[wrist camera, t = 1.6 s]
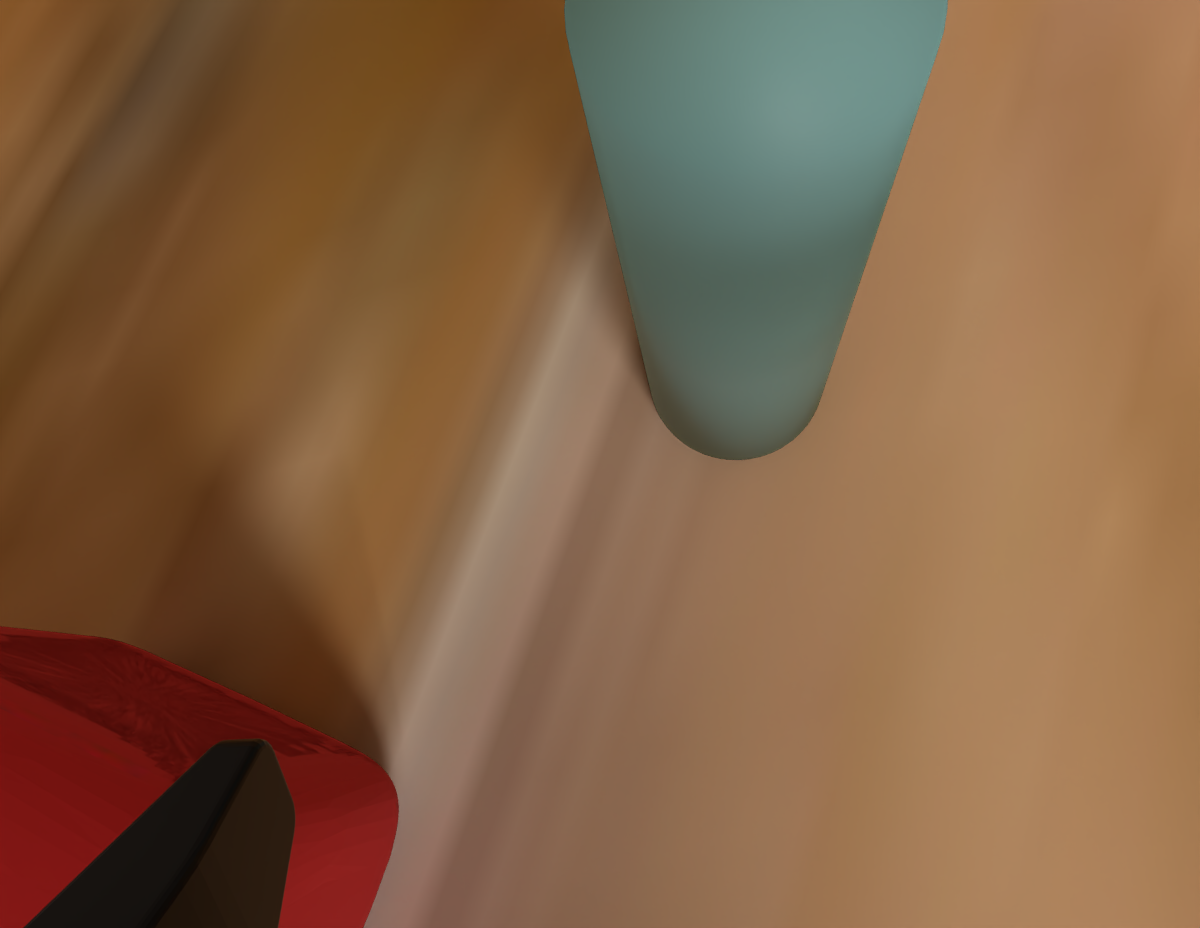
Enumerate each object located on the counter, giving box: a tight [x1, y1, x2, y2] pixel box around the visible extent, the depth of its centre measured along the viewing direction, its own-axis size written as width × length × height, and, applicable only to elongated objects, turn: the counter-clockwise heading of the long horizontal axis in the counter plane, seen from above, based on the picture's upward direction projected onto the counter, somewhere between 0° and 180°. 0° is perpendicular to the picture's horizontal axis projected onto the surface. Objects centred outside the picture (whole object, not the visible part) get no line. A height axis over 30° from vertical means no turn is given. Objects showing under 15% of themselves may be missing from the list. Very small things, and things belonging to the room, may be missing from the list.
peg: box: [564, 0, 947, 460], centre depth 17 cm, size 4×4×13 cm
